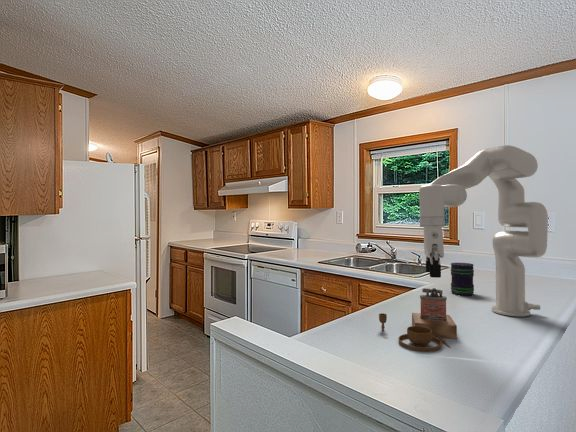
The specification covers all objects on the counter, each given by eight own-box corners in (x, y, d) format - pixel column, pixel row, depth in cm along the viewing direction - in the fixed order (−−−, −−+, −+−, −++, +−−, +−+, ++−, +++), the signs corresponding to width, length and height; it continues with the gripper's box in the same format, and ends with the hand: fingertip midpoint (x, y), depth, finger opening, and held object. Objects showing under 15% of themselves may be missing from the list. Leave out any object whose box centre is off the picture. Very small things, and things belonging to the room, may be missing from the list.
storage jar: (475, 294, 166) (474, 263, 166) (473, 298, 158) (472, 265, 158) (452, 292, 171) (451, 262, 171) (449, 296, 163) (449, 264, 163)
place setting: (396, 354, 95) (396, 333, 95) (375, 331, 115) (375, 313, 115) (458, 353, 96) (458, 332, 96) (427, 329, 116) (427, 312, 116)
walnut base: (449, 326, 117) (449, 315, 117) (456, 338, 106) (456, 325, 106) (411, 324, 120) (411, 312, 120) (415, 335, 109) (415, 322, 109)
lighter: (446, 318, 113) (445, 288, 113) (447, 321, 110) (447, 290, 110) (419, 316, 116) (419, 286, 116) (420, 319, 112) (420, 288, 112)
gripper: (449, 223, 104) (450, 279, 104) (440, 221, 121) (441, 270, 121) (422, 223, 106) (424, 279, 106) (417, 222, 123) (418, 270, 123)
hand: (433, 274), depth 113 cm, fingers open, 9 cm apart
